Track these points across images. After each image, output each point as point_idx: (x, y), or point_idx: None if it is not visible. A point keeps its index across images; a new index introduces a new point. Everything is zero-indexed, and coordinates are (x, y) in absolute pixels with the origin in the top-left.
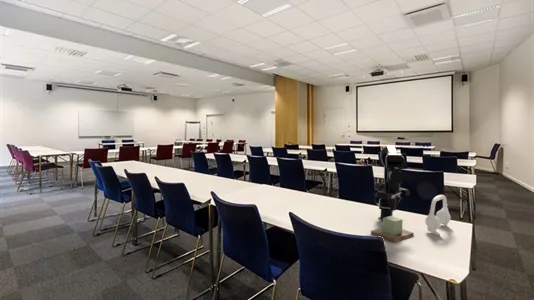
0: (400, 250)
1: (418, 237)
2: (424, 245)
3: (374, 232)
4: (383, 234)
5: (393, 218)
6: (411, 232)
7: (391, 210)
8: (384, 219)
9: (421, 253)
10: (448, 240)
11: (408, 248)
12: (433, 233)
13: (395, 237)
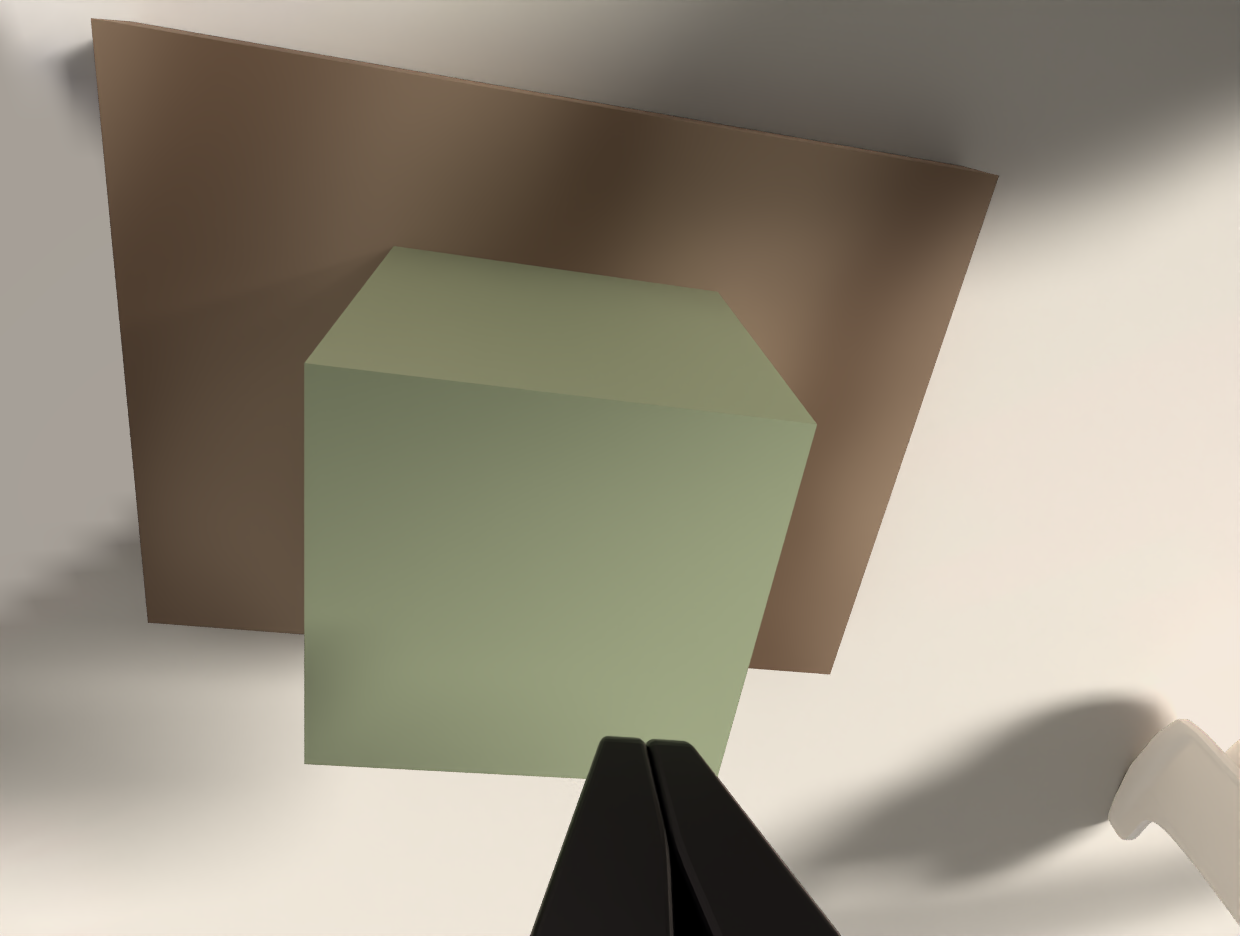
0: (16, 775)
1: (797, 703)
2: (535, 856)
3: (109, 150)
4: (195, 381)
5: (588, 608)
6: (820, 646)
7: (597, 755)
8: (315, 410)
9: (225, 931)
10: (977, 925)
11: (210, 799)
12: (1135, 761)
13: (290, 603)
